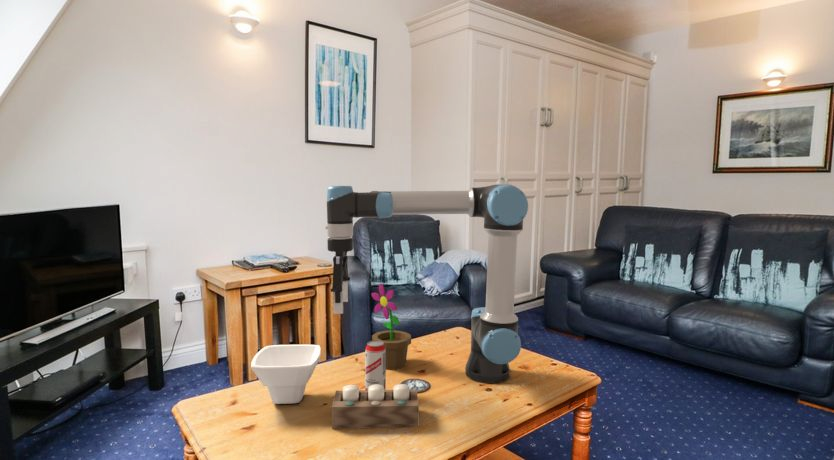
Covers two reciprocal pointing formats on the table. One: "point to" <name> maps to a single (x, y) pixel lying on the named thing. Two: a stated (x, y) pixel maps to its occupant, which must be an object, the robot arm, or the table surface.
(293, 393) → the bowl
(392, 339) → the flowerpot
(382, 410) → the button board
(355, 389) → the button
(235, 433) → the table surface
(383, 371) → the beer can
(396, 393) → the button
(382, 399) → the button middle
